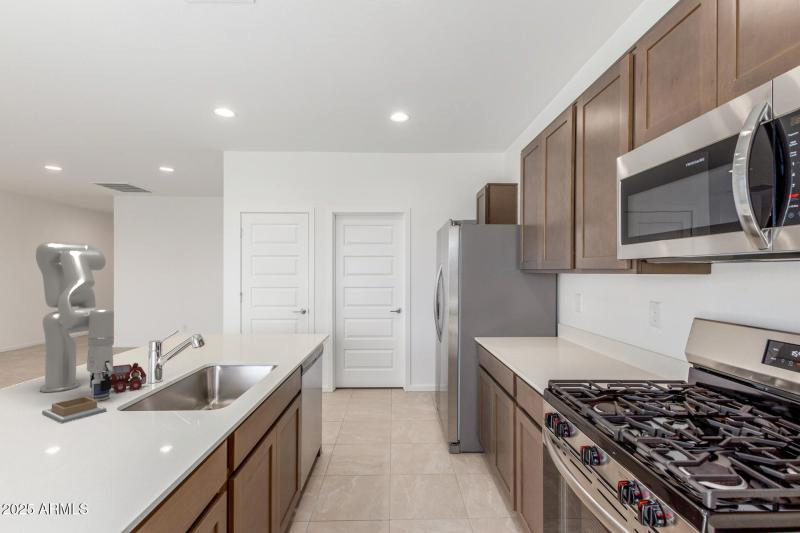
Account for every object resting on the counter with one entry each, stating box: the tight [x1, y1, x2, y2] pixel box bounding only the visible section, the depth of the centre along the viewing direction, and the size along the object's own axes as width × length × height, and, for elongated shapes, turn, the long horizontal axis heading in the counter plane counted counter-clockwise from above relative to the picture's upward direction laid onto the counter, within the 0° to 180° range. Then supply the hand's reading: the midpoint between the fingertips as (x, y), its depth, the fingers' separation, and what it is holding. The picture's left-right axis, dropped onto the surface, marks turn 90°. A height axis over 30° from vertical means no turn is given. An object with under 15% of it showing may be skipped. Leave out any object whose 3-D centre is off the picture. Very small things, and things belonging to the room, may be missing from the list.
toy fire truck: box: [111, 362, 147, 394], centre depth 155 cm, size 7×12×10 cm, turn 129°
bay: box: [41, 395, 107, 424], centre depth 129 cm, size 16×12×4 cm
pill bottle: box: [90, 374, 111, 402], centre depth 143 cm, size 5×5×10 cm
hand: (100, 388), depth 143 cm, fingers open, 7 cm apart
